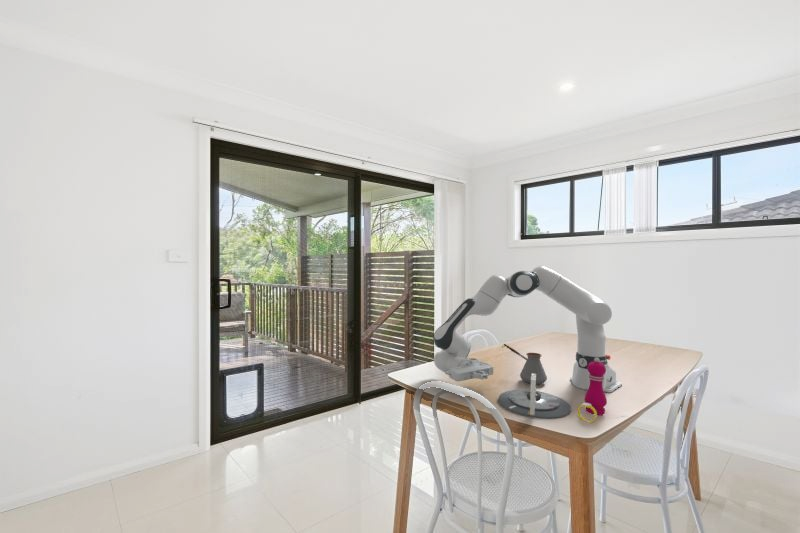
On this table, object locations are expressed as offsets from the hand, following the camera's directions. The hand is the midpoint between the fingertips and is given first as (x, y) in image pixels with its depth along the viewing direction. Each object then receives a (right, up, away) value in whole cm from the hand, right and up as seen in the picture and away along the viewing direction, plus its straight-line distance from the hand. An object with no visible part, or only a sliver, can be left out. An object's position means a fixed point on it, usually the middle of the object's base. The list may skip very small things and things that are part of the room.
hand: (485, 377), depth 151 cm
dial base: (+17, -9, -5) cm, 20 cm away
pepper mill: (+38, -10, -12) cm, 41 cm away
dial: (+16, -8, -9) cm, 20 cm away
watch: (+31, -10, -19) cm, 38 cm away
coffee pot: (+23, -8, +24) cm, 34 cm away
